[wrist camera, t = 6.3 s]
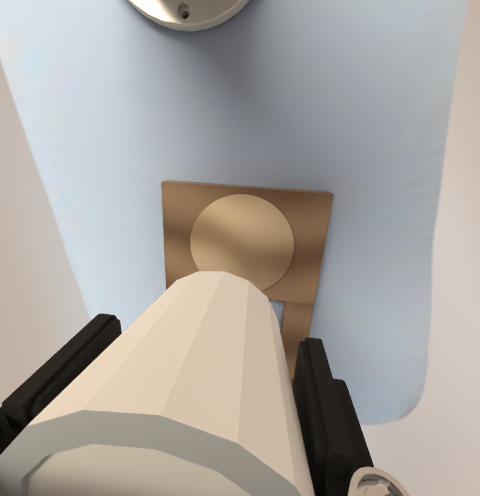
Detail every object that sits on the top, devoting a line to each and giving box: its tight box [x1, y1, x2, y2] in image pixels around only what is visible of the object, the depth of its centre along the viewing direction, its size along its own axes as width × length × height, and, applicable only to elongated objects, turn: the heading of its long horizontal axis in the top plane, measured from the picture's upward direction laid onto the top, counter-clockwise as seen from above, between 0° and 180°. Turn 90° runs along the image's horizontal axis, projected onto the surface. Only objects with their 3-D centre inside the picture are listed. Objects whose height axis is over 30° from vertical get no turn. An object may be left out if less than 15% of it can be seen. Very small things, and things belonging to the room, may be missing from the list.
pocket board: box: [161, 181, 334, 385], centre depth 25 cm, size 20×14×2 cm
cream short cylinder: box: [0, 271, 315, 496], centre depth 8 cm, size 7×7×7 cm
